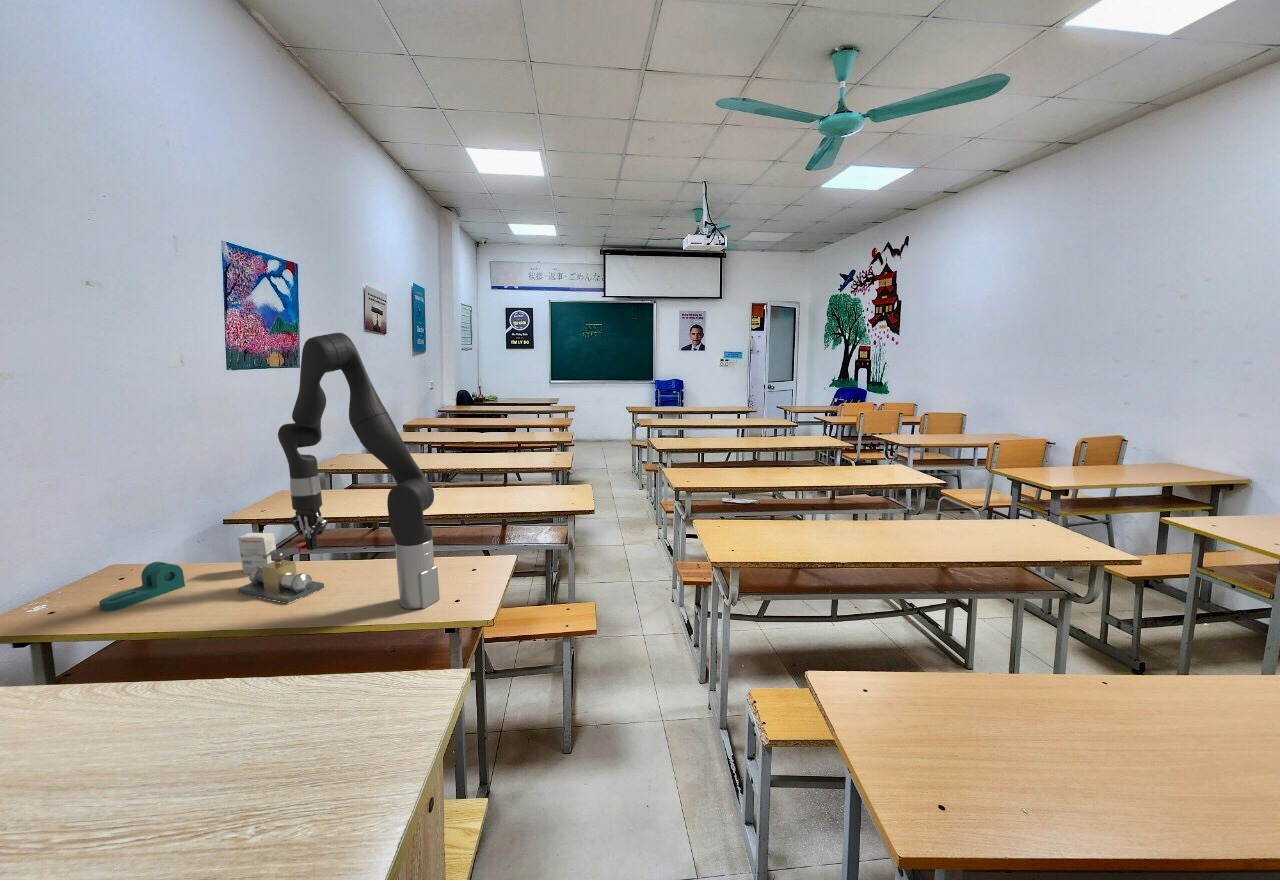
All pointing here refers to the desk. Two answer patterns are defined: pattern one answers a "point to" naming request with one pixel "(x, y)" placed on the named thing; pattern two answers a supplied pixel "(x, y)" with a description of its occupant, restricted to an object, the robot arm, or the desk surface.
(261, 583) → the valve pipe
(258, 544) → the ink box
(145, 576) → the bracket
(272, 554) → the valve lever
